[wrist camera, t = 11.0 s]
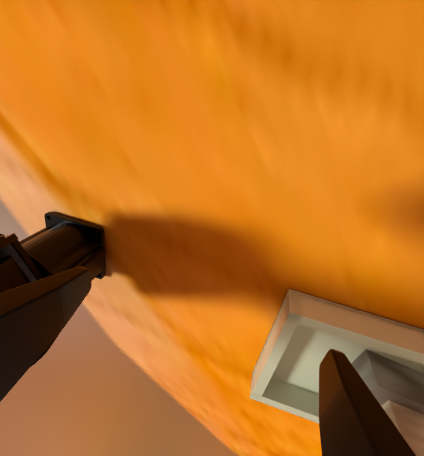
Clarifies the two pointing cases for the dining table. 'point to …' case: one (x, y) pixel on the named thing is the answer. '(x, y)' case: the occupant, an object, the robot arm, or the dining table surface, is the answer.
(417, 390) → the square pillar on base
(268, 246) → the dining table surface
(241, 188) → the dining table surface
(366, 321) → the tray
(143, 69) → the dining table surface
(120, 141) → the dining table surface
